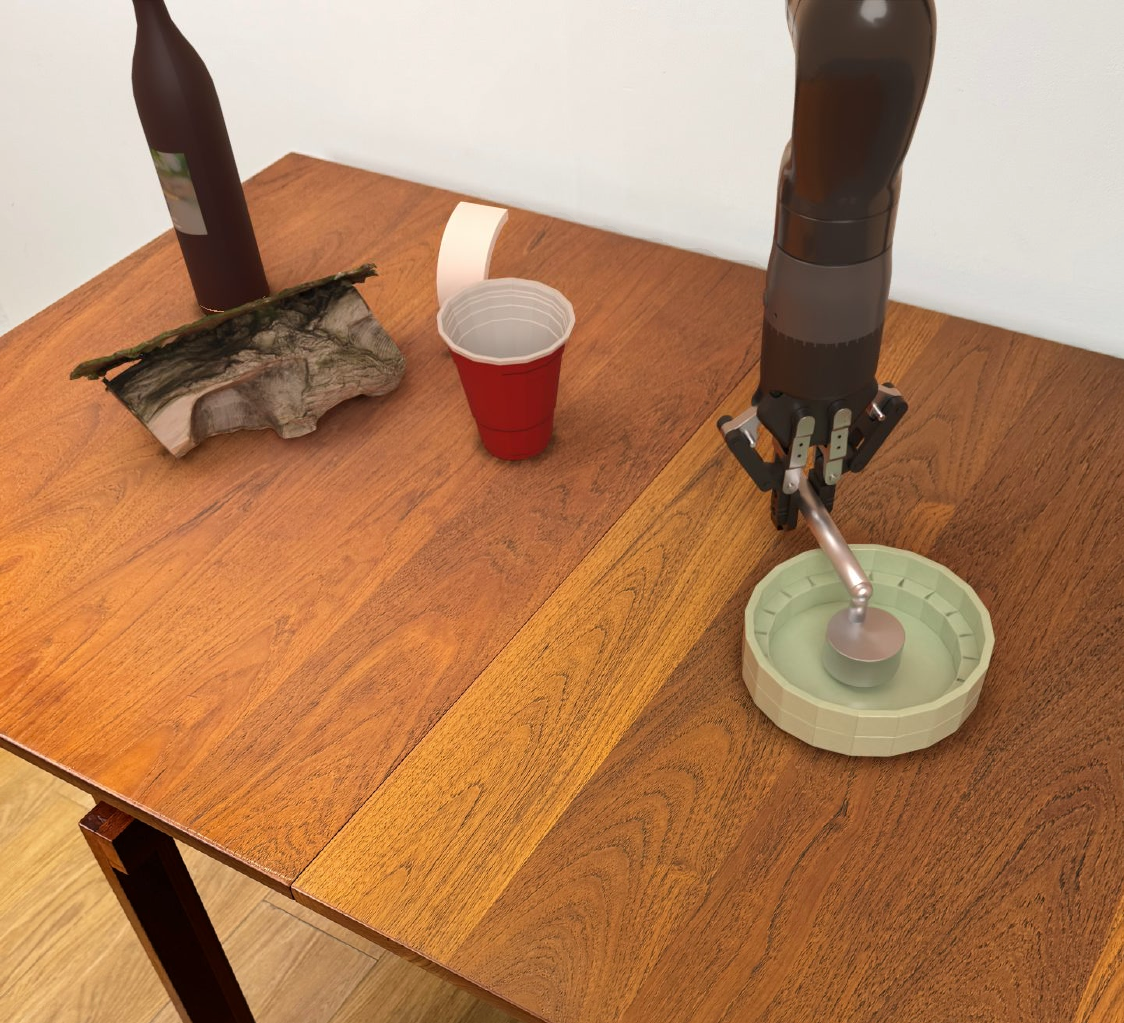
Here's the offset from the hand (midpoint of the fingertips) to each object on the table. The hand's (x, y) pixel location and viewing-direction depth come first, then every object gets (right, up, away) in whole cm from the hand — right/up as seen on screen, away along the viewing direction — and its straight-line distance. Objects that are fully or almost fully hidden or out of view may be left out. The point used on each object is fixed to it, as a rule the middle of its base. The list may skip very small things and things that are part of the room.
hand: (800, 519), depth 89 cm
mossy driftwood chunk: (-44, +13, +19) cm, 50 cm away
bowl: (+3, -11, -5) cm, 13 cm away
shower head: (+1, -6, -1) cm, 6 cm away
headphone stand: (-25, +20, +24) cm, 40 cm away
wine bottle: (-50, +27, +31) cm, 65 cm away
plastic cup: (-21, +9, +14) cm, 27 cm away
